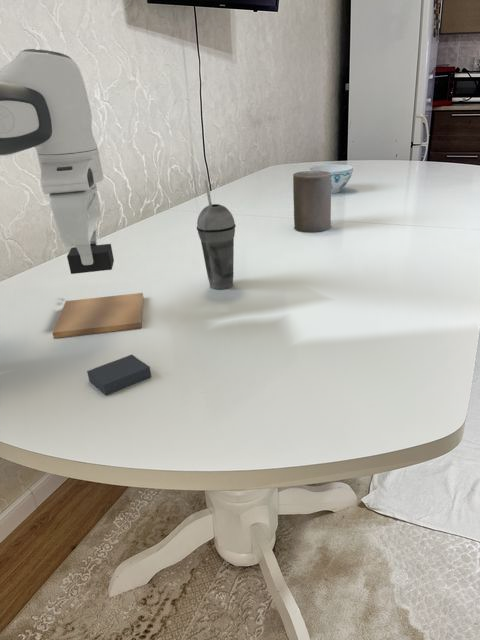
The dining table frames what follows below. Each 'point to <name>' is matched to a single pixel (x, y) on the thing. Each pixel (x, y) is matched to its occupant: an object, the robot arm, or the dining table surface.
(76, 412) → the dining table surface
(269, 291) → the dining table surface
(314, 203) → the pillar candle
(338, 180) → the chinaware
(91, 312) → the cork mat
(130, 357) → the pad top
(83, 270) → the pad bottom
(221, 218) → the beverage cup
